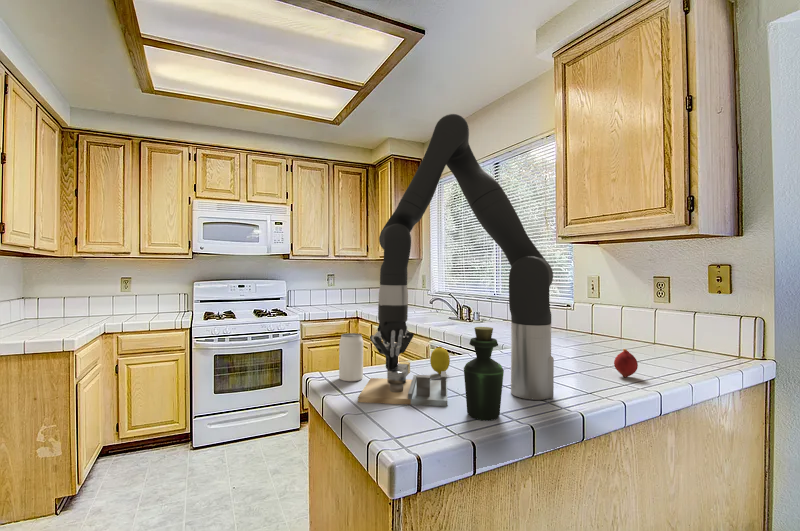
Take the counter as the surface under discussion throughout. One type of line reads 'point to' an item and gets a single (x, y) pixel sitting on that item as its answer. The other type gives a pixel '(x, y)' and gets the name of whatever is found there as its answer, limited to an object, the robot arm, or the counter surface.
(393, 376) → the swing bar
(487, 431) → the counter surface
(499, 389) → the potion bottle
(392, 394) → the board
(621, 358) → the onion
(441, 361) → the lemon
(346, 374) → the can
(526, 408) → the counter surface
